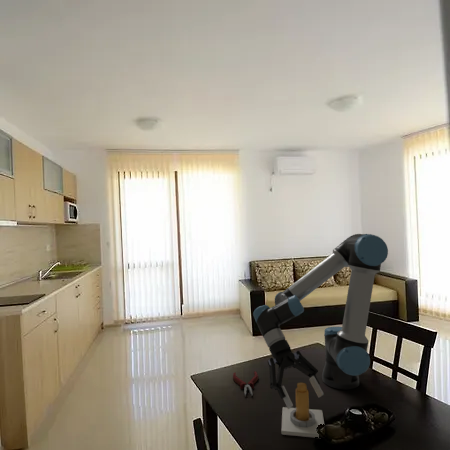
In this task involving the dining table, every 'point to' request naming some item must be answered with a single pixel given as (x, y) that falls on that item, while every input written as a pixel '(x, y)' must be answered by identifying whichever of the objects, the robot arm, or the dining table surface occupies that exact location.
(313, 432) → the plate
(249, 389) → the pliers
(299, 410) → the orange peg
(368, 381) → the dining table surface
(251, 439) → the dining table surface
